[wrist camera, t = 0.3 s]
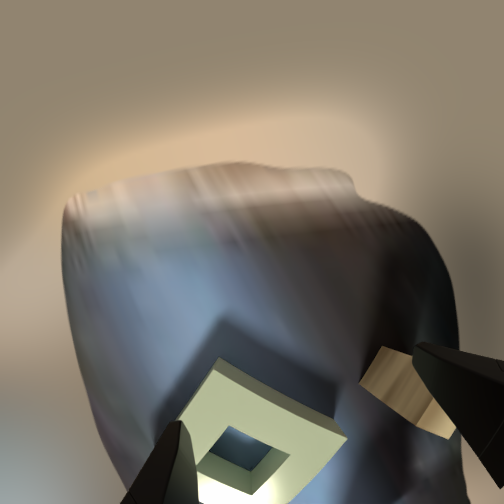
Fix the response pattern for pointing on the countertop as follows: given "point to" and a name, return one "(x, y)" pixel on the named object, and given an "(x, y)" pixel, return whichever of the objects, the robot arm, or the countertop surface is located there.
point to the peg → (405, 392)
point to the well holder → (261, 428)
